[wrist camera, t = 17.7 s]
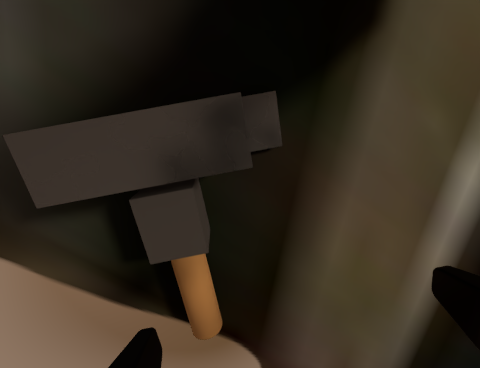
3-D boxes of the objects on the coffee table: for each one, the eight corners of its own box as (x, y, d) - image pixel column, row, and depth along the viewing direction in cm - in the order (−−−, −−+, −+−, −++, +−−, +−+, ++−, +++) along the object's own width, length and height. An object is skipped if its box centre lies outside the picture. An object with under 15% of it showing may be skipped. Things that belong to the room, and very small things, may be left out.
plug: (145, 183, 19) (128, 200, 15) (197, 174, 19) (192, 188, 16) (187, 317, 23) (181, 355, 20) (229, 309, 23) (231, 345, 20)
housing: (272, 91, 18) (297, 81, 12) (279, 144, 19) (305, 157, 13) (32, 135, 17) (-60, 146, 12) (54, 186, 19) (-20, 219, 13)
